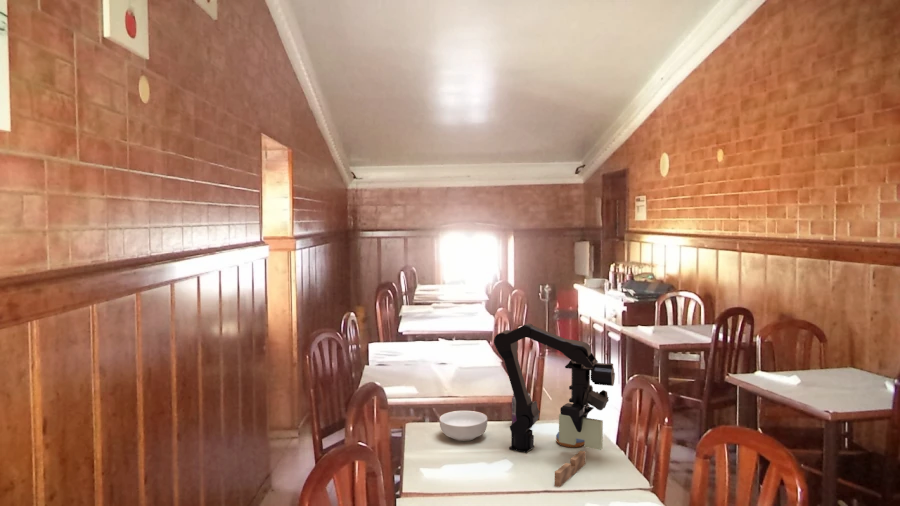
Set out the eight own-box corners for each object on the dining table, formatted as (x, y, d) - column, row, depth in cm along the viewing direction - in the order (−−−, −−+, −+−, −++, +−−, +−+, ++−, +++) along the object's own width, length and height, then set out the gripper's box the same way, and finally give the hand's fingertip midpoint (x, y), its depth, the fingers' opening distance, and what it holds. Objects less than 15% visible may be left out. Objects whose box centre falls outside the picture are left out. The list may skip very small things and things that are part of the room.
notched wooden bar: (559, 486, 186) (559, 473, 185) (554, 485, 186) (554, 472, 186) (585, 464, 202) (585, 451, 202) (580, 463, 203) (580, 450, 203)
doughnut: (592, 443, 220) (591, 429, 220) (573, 451, 214) (572, 437, 214) (569, 438, 228) (568, 425, 228) (550, 446, 222) (549, 433, 222)
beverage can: (530, 430, 234) (530, 397, 234) (510, 429, 236) (510, 396, 235) (532, 424, 241) (532, 392, 241) (512, 422, 243) (512, 391, 242)
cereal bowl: (443, 428, 237) (443, 409, 236) (489, 430, 235) (489, 411, 234) (435, 444, 220) (435, 424, 220) (485, 447, 218) (485, 426, 217)
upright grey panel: (558, 442, 211) (558, 414, 211) (560, 440, 213) (560, 413, 212) (600, 450, 204) (600, 421, 203) (602, 448, 205) (602, 420, 205)
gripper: (594, 393, 195) (594, 444, 196) (615, 379, 211) (614, 427, 212) (559, 387, 201) (559, 437, 202) (582, 375, 217) (581, 421, 218)
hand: (580, 431), depth 208 cm, fingers closed on upright grey panel, 2 cm apart
